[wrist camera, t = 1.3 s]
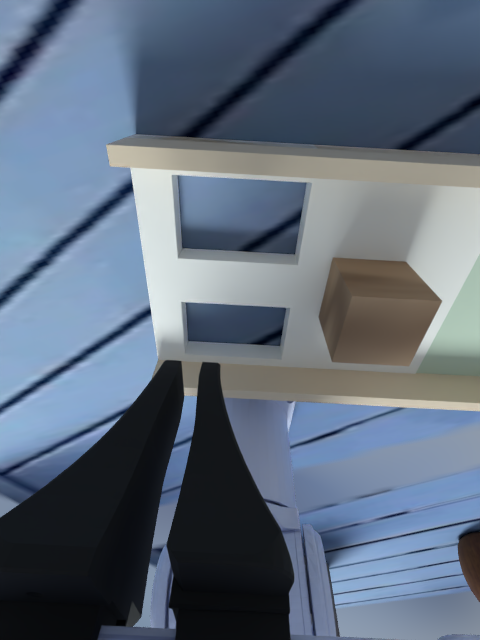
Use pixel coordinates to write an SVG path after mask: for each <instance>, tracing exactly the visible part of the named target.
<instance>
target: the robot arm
mask: <svg viewBox="0 0 480 640" xmlns="http://www.w3.org/2000/svg"><path fill="white" fill-rule="evenodd" d="M220 368H221V365H220V364H219V363H215V362H202V365H201V369H200V373H199V379H198V392H197V405H196V418H195V426H194V432H193V437H192V442H191V447H190V451H189V456H188V460H187V465H186V469H185V474H184V478H183V482H182V486H181V491H180V495H179V499H178V503H177V507H176V511H175V515H174V519H173V522H172V526H171V530H170V534H169V537H168V541H167V543H166V545H165V546H164V548H163V550H162V553H161V555H160V558H159V561H158V564H157V568H156V573H155V578H154V583H153V589H152V598H151V628H145V627H133V626H134V625H135V623H137V621H138V620H139V619H140V618H141V614H142V608H143V600H144V594H145V587H146V581H147V574H148V567H149V562H150V555H151V549H152V543H153V537H154V531H155V525H156V519H157V514H158V508H159V503H160V497H161V492H162V486H163V482H164V478H165V473H166V470H167V466H168V463H169V459H170V455H171V452H172V448H173V445H174V441H175V438H176V434H177V430H178V427H179V423H180V419H181V413H182V407H183V401H184V385H183V373H182V361H177V360H165V361H164V362H163V364H162V365H161V367H160V368H159V370H158V371H157V373H156V374H155V376H154V377H153V378H152V380H151V381H150V382H149V384H148V385H147V387H146V388H145V389H144V390H143V392H142V393H141V394H140V395H139V397H138V398H137V399H136V401H135V402H134V403H133V404H132V405H131V407H130V408H129V409H128V410H127V411H126V412H125V413H124V415H123V416H122V417H121V418H120V419H119V420H118V421H117V422H116V423H115V424H114V426H113V427H112V428H111V429H110V430H109V431H108V432H107V433H106V434H105V435H104V436H103V437H102V438H101V439H100V440H99V441H98V442H97V443H95V444H94V445H93V446H92V447H91V448H90V449H89V450H88V451H87V452H86V453H85V454H83V455H82V456H81V457H80V458H79V459H78V460H77V461H75V462H74V463H73V464H72V465H71V466H70V467H68V468H67V469H66V470H64V471H63V472H62V473H61V474H59V475H58V476H57V477H56V478H54V479H53V480H52V481H51V482H49V483H48V484H47V485H46V486H44V487H43V488H42V489H40V490H39V491H38V492H36V493H35V494H33V495H32V496H31V497H29V498H28V499H26V500H25V501H23V502H22V503H21V504H19V505H18V506H16V507H15V508H14V509H12V510H11V511H9V512H8V513H6V514H5V515H3V516H2V517H1V518H0V640H394V639H375V638H374V639H373V638H354V637H336V628H335V620H334V612H333V605H332V598H331V591H330V584H329V578H328V572H327V566H326V560H325V554H324V549H323V544H322V540H321V536H320V535H319V534H318V533H317V532H316V531H315V530H313V527H312V526H311V525H310V524H303V535H304V553H305V562H306V565H305V563H304V555H303V546H302V538H301V529H300V521H299V512H298V508H297V506H296V497H295V488H294V479H293V470H292V461H291V452H290V443H289V434H288V432H289V428H290V424H291V420H292V415H293V411H294V407H295V402H296V401H278V400H259V399H240V398H224V397H223V392H222V386H221V379H220ZM310 614H312V625H311V616H310ZM438 640H480V635H465V634H452V635H446V636H442V637H440V638H439V639H438Z"/></svg>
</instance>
